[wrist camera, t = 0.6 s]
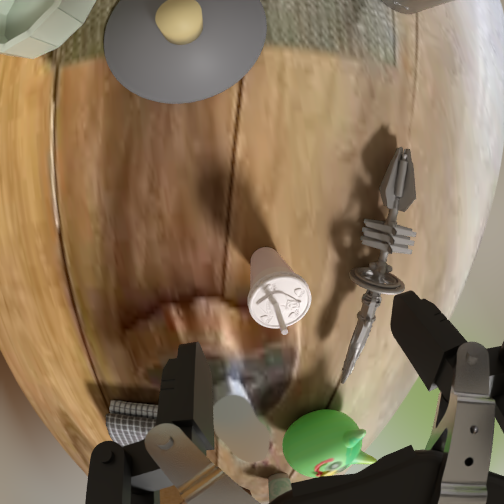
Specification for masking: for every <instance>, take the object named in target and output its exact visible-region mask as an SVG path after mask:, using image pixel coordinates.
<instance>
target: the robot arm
mask: <svg viewBox="0 0 504 504" xmlns="http://www.w3.org/2000/svg"><path fill="white" fill-rule="evenodd" d="M381 1H382V2H384V3H385V4H386V5H387V6H389V7H390V8H392V9H394V10H396V11H398V12H400V13H404V14H414V13H417V12H420V11H423V10H426V9H429V8H432V7H435V6H438V5H441V4H444V3H448V2H451V1H454V0H381ZM391 331H392V334H393V336H394V338H395V339H396V341H397V342H398V344H399V345H400V347H401V348H402V350H403V351H404V353H405V354H406V356H407V357H408V359H409V360H410V362H411V364H412V365H413V367H414V368H415V370H416V371H417V373H418V375H419V376H420V378H421V379H422V381H423V382H424V384H425V386H426V387H427V389H428V391H431V390H433V389H435V388H437V387H438V388H439V390H440V393H439V398H438V403H437V409H436V414H435V419H434V424H433V429H432V433H431V436H430V438H429V441H428V443H427V445H426V448H425V450H415V451H414V450H413V447H412V445H410V446H407V447H405V448H403V449H400V450H398V451H396V452H393V453H391V454H388V455H386V456H384V457H382V458H381V459H379V460H378V461H376V462H374V463H373V464H371V465H370V466H368V467H367V468H365V469H364V470H362V471H360V472H358V473H356V474H349V475H348V474H347V475H334V476H321V477H317V478H313V479H309V480H305V481H300V482H296V483H291V487H292V489H291V490H289V491H287V492H285V493H283V494H281V495H279V496H278V497H276V498H275V499H274V500H272V501H271V502H270V503H269V504H504V476H502V475H499V474H496V473H493V472H490V471H489V466H490V459H491V452H492V444H493V434H494V422H495V418H496V420H497V422H498V423H499V425H500V427H501V429H502V430H503V433H504V342H503V344H502V346H499V347H493V348H488V349H486V348H485V347H484V346H482V345H481V344H479V343H476V342H467V341H466V340H465V339H464V337H463V336H462V335H461V334H460V333H459V331H458V330H457V329H456V328H455V327H454V326H453V325H452V323H451V322H450V321H449V320H447V318H446V317H445V316H444V314H443V313H441V311H440V310H439V309H438V308H437V307H436V306H435V304H433V303H431V302H429V301H428V300H426V299H420V298H419V297H418V296H417V295H416V294H415V293H414V292H413V291H407V292H404V293H401V294H398V295H395V296H394V300H393V308H392V316H391ZM160 390H161V391H160V395H159V403H158V411H157V420H156V425H155V427H153V428H152V429H151V430H150V431H149V432H148V433H147V435H146V438H145V439H143V440H141V441H138V442H135V443H132V444H129V445H126V446H121V445H120V444H118V443H117V442H114V441H105V442H102V443H100V444H98V445H97V446H96V447H95V448H94V450H93V451H92V454H91V459H90V466H89V474H88V483H87V492H86V504H160V489H163V488H167V487H170V486H173V485H174V486H175V487H176V488H177V489H178V491H179V492H180V496H181V497H182V498H183V500H184V501H185V502H186V503H187V504H260V503H259V502H258V501H257V500H255V499H254V498H253V497H252V496H251V495H249V494H248V493H247V492H246V491H245V490H243V489H242V488H241V487H240V486H239V485H238V484H237V483H235V482H234V481H233V480H232V479H231V478H230V477H229V476H228V475H227V474H225V473H224V472H223V471H222V470H221V469H220V468H219V467H217V466H216V465H215V464H214V463H212V462H211V461H210V460H209V459H208V458H207V457H206V450H214V425H213V390H212V375H211V370H210V367H209V365H208V362H207V360H206V358H205V355H204V353H203V351H202V348H201V346H200V344H199V342H193V343H187V344H180V345H179V348H178V356H177V358H175V359H169V361H168V362H167V364H166V366H165V367H164V369H163V373H162V382H161V388H160Z"/></svg>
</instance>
